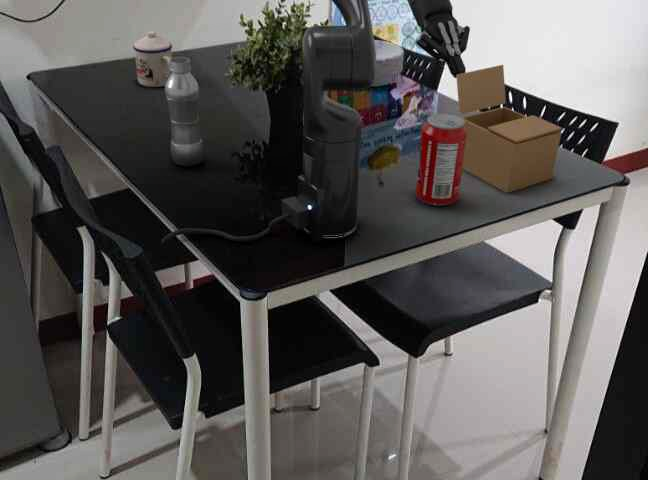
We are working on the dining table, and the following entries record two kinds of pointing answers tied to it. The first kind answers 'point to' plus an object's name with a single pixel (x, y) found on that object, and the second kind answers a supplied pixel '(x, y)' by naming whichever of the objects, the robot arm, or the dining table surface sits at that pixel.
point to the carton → (510, 148)
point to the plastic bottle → (184, 113)
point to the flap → (481, 89)
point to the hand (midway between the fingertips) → (460, 75)
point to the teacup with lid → (153, 60)
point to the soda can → (441, 159)
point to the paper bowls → (387, 62)
